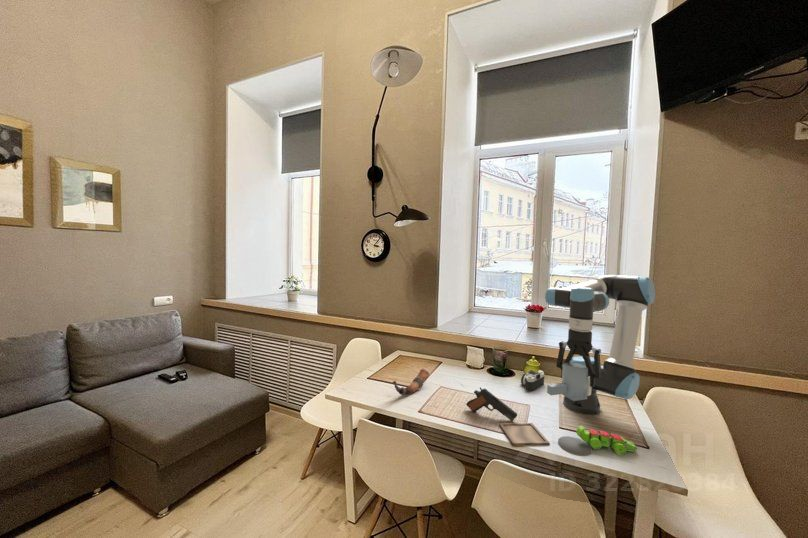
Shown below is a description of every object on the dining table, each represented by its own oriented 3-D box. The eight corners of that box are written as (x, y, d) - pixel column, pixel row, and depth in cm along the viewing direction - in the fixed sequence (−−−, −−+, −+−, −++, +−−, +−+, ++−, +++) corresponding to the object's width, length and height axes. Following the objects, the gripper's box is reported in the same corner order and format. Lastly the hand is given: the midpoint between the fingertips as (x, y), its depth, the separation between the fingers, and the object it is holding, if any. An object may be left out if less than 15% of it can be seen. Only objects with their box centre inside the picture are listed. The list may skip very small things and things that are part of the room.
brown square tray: (531, 425, 132) (532, 422, 132) (549, 445, 118) (549, 442, 118) (499, 425, 131) (499, 423, 131) (512, 445, 117) (513, 443, 117)
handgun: (466, 403, 145) (479, 383, 142) (503, 433, 137) (518, 413, 134) (464, 405, 143) (478, 385, 140) (502, 436, 135) (517, 415, 132)
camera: (531, 381, 180) (532, 364, 180) (546, 386, 173) (547, 368, 173) (516, 388, 170) (517, 369, 169) (532, 393, 163) (532, 374, 163)
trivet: (579, 438, 123) (579, 436, 123) (598, 456, 112) (598, 453, 112) (552, 438, 123) (552, 436, 122) (568, 456, 112) (568, 454, 112)
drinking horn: (430, 385, 170) (431, 366, 169) (397, 404, 146) (398, 383, 146) (421, 382, 173) (422, 364, 172) (388, 401, 149) (388, 380, 149)
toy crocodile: (630, 449, 118) (633, 433, 118) (639, 459, 111) (641, 443, 111) (572, 435, 123) (575, 420, 122) (577, 445, 116) (580, 429, 116)
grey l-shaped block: (573, 390, 120) (574, 361, 119) (591, 400, 112) (593, 369, 111) (540, 394, 115) (542, 365, 114) (557, 405, 107) (559, 373, 107)
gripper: (548, 325, 120) (545, 385, 121) (609, 336, 106) (605, 404, 107) (555, 323, 126) (553, 380, 127) (615, 333, 111) (611, 397, 112)
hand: (576, 391), depth 117 cm, fingers closed on grey l-shaped block, 7 cm apart
